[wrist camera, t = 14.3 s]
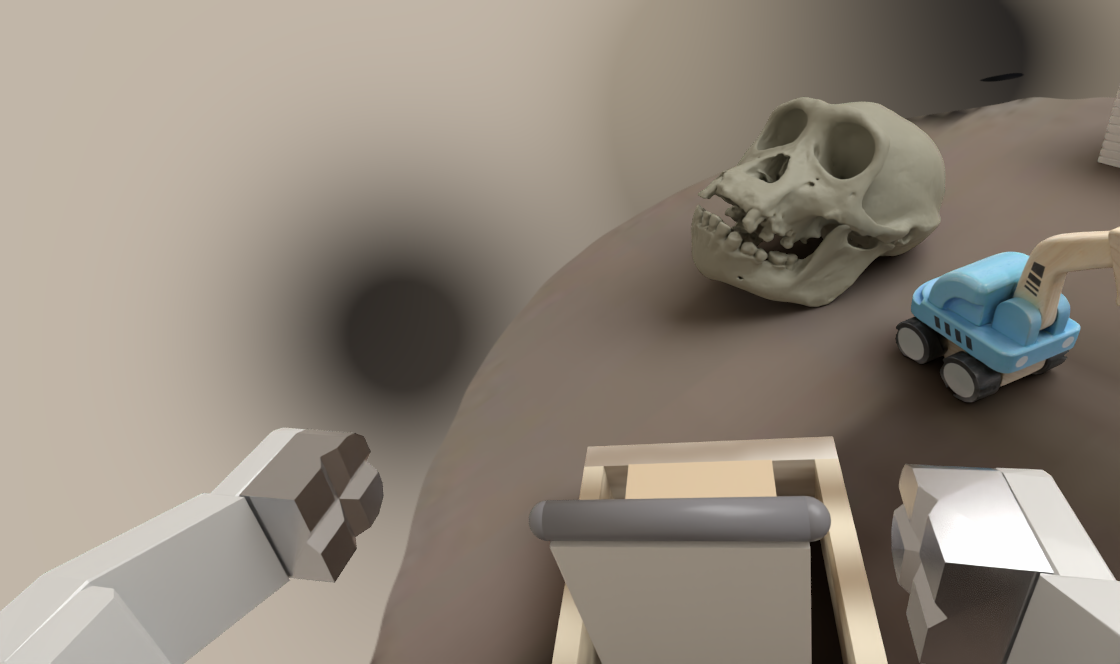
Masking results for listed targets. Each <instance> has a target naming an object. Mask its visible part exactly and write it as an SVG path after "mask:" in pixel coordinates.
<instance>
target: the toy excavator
mask: <svg viewBox="0 0 1120 664" xmlns="http://www.w3.org/2000/svg"><path fill="white" fill-rule="evenodd" d="M1100 268H1113V270H1114V277H1115V281H1116V288H1117V299H1116V304H1117V306H1120V227H1118V228H1116V229H1113V230H1111V231H1096V232H1079V233H1067V234H1060V235H1056V236H1053V237H1050V238H1048V239H1046V240H1044V241H1042V242H1040V243H1039V244H1038V245H1037V246H1036V247H1035V248H1034V249H1033V251H1032V253H1031V254H1030V256H1028V255H1025V254H1022V253H1018V252H1003V253H999V254H996V255H993V256H990V257H987V258H985V259H982V260H980V261H977V262H974V263H972V264H969V265H967V266H964V267H961V268H959V269H956V270H953V271H951V272H948V273H946V274H944V275H942V276H940V277H938V278H935V279H932V280H930V281H928V282H926V283H924V284H922V285H921V286H920V287H919V288H918V289H917V290H916V291H915V293H914V295H913V299H912V305H911V312H912V313H913V314H914V316H915V317H913V318H910V319H908V320H906V321H903V322H901V323H899V324H898V325H897V326H896V329H898V332H897V334H896V338H895V339H896V343H897V345H898V347H899V349H900V350H901V352H902V353H903V355H904V356H908V357H909V358H911V359H913V360H915V361H916V362H918V363H919V364H924V363H927V362H929V361H932V360H934V359H936V358H938V357H941V356H945V357H946V358H944V359H943V361H944V364H943V366H942V368H941V369H940V375H941V377H942V379H943V381H944V383H945V384H946V388H948V386H949V387H950V388H951V389H952V390H953V391H954V392H955V393H956V395H955V394H953V395H954V396H955V397H956V398H958V399H960V400H963V401H964V402H974V401H977V400H979V399H981V398H984V397H987V396H989V395H991V394H995V393H996V392H997V391H998V389H999V387H1001V386H1003V385H1006V384H1008V383H1010V382H1013V381H1015V380H1017V379H1020V378H1022V377H1024V376H1027V375H1029V374H1031V373H1032V374H1042V373H1044V372H1046V371H1047V370H1050V369H1052V368H1054V367H1056V366H1058V365H1060V364H1062V363H1063V362H1064V361H1065V360H1066V358H1067V357H1064V354H1065V353H1067V352H1069V349H1071V348H1072V347H1073V346H1074V344H1075V342H1076V339H1077V337H1078V334H1079V331H1080V325H1079V324H1078V323H1076V322H1075V321H1073V320H1072V319H1070V318H1069V315H1070V305H1069V303H1068V301H1067V299H1066V298H1065V297H1064V296H1063V295H1062V294H1061V291H1062V288H1063V284H1064V280H1065V277H1066V275H1067V273H1068V272H1073V271H1081V270H1088V269H1100Z"/></svg>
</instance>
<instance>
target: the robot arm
mask: <svg viewBox="0 0 1120 664" xmlns="http://www.w3.org/2000/svg"><path fill="white" fill-rule="evenodd" d="M369 454H370V449H369V447H368V445H367V442H366V440H365V438H364V436H362V435H359V434H356V433H349V432H337V431H325V430H312V429H306V430H304V429H294V428H280V429H277V430H274V431H272V432H271V433H270V434H269V435H268V436H267V437H266V438H265V439H264V440H263V441H262V442H261V443H260V444H259V445H258V446H257V447H256V448H255V449H254V450H253V451H252V452H251V453H250V454H249V455H248V456H247V457H246V458H245V459H244V460H243V461H242V462H241V463H240V464H239V465H238V466H237V467H236V468H235V469H234V470H233V471H232V472H231V473H230V474H229V475H228V476H227V477H226V478H225V479H224V480H223V481H222V482H221V483H220V484H219V485H218V486H217V487H216V489H214V490H213V491H212V492H211V493H210V494H208V493H202V494H200V495H198V496H196V497H194V498H192V499H190V500H188V501H186V502H184V503H182V504H180V505H178V506H176V507H174V508H172V509H170V510H168V511H167V512H164V513H162V514H161V515H158V516H156V517H154V518H153V519H151V520H149V521H147V522H145V523H143V524H141V525H139V526H137V527H135V528H133V529H131V530H129V531H127V532H125V533H123V534H121V535H119V536H117V537H115V538H113V539H111V540H109V541H107V542H105V543H103V544H101V545H99V546H97V547H95V548H93V549H91V550H89V551H87V552H85V553H83V554H82V555H80V556H78V557H76V558H74V559H72V560H70V561H68V562H66V563H64V564H62V565H60V566H58V567H56V568H54V569H52V570H50V571H48V572H46V573H44V574H42V575H41V576H40V577H39V578H38V579H36V580H35V581H34V582H33V583H32V584H31V585H30V586H28V587H27V588H26V589H25V590H24V591H23V592H22V593H21V594H19V595H18V596H17V597H16V598H15V599H14V600H13V601H12V602H10V603H9V604H8V605H7V606H6V607H5V608H4V609H3V610H1V611H0V664H184V663H185V662H186V661H188V660H189V659H190V658H191V657H193V656H194V655H195V654H197V653H198V652H199V651H200V650H202V649H203V648H204V647H206V646H207V645H208V644H209V643H211V642H212V641H213V640H215V639H216V638H217V637H218V636H220V635H221V634H222V633H223V632H225V631H226V630H227V629H229V628H230V627H231V626H232V625H233V624H235V623H236V622H237V621H239V620H240V619H241V618H243V617H244V616H245V615H246V614H248V613H249V612H250V611H251V610H253V609H254V608H255V607H257V606H258V605H259V604H260V603H262V602H263V601H264V600H265V599H267V598H268V597H269V596H271V595H272V594H273V593H274V592H276V591H277V590H278V589H279V588H281V587H282V586H283V585H285V584H286V583H287V582H288V581H289V578H297V579H306V580H315V581H325V582H335V581H336V580H337V578H338V577H339V575H340V574H341V572H342V571H343V569H344V567H345V566H346V564H347V562H348V561H349V560H350V558H351V557H352V555H353V553H354V552H355V551H356V549H357V547H356V538H355V537H356V536H358V535H359V534H361V533H362V532H364V531H365V530H367V529H368V528H370V527H371V526H372V524H373V522H374V521H375V519H376V517H377V516H378V514H379V511H380V508H381V504H382V500H383V485H382V481H381V478H380V475H379V472H378V471H377V470H376V469H375V468H374V467H373V466H372V465H371V464H369V463H368V462H367V459H368V456H369ZM899 489H900V493H901V496H902V499H903V503H904V504H903V505H901V506H900V507H899V508H897V509H896V510H895V511H894V516H893V523H892V555H893V561H894V567H895V571H896V575H897V579H898V583H899V584H900V585H901V586H902V587H903V588H904V589H905V590H906V591H907V592H908V593H910V598H909V603H908V608H907V613H906V614H907V618H908V622H909V625H910V629H911V633H912V637H913V640H914V644H915V648H916V651H917V655H918V659H919V663H923V664H1120V581H1116V579H1115V578H1114V576H1113V574H1112V573H1111V571H1110V570H1109V568H1108V566H1107V565H1106V563H1105V562H1104V560H1103V558H1102V557H1101V555H1100V554H1099V552H1098V550H1097V549H1096V547H1095V546H1094V544H1093V542H1092V541H1091V539H1090V538H1089V536H1088V534H1087V533H1086V531H1085V529H1084V528H1083V526H1082V525H1081V523H1080V521H1079V520H1078V518H1077V517H1076V515H1075V513H1074V512H1073V510H1072V509H1071V507H1070V505H1069V504H1068V502H1067V501H1066V499H1065V497H1064V496H1063V494H1062V493H1061V491H1060V489H1059V488H1058V486H1057V484H1056V483H1055V481H1054V480H1053V478H1052V476H1051V475H1049V474H1048V473H1046V472H1045V471H1044V470H1035V469H1011V468H995V469H991V468H975V467H955V466H935V465H915V464H905V466H904V468H903V470H902V472H901V477H900V482H899Z"/></svg>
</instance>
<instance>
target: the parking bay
mask: <svg viewBox="0 0 1120 664" xmlns="http://www.w3.org/2000/svg"><path fill="white" fill-rule="evenodd" d="M747 460H772V465H773V473H774V480H775V488H776V495H777V496H810V497H813V498H816V499H818V500H819V501H821V502H822V503H823V504H824V505H825V506H826V508H827V509H828V511H829V513H830V516H831V526H830V529H829V531H828V533H827V534H826V535H825V536H824V537H823V538H821V539H820V542H821V547H822V553H823V558H824V563H825V569H826V574H827V579H828V584H829V590H830V595H831V600H832V606H833V611H834V616H835V622H836V627H837V632H838V638H839V643H840V648H841V654H842V659H843V664H888V663H887V659H886V655H885V650H884V646H883V642H882V638H881V634H880V630H879V626H878V621H877V617H876V613H875V609H874V605H873V601H872V597H871V592H870V588H869V584H868V580H867V576H866V572H865V568H864V564H863V559H862V555H861V551H860V547H859V543H858V539H857V535H856V530H855V526H854V522H853V518H852V514H851V510H850V506H849V501H848V497H847V493H846V489H845V485H844V481H843V477H842V472H841V468H840V464H839V460H838V456H837V452H836V448H835V443H834V439H833V437H809V438H785V439H761V440H738V441H714V442H690V443H666V444H643V445H619V446H595V447H588V449H587V455H586V461H585V467H584V473H583V479H582V485H581V491H580V497H579V500H595V499H625V497H626V486H627V476H628V465H629V464H656V463H686V462H716V461H747ZM552 664H602V663H601V661H600V658H599V656H598V654H597V652H596V650H595V647H594V645H593V643H592V641H591V638H590V636H589V634H588V632H587V629H586V627H585V625H584V623H583V620H582V618H581V616H580V614H579V612H578V609H577V607H576V605H575V603H574V600H573V598H572V596H571V594H570V591H569V589H568V587H567V585H566V583H565V587H564V593H563V599H562V605H561V611H560V617H559V623H558V629H557V635H556V641H555V648H554V654H553V660H552Z"/></svg>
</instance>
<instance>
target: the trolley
mask: <svg viewBox="0 0 1120 664" xmlns="http://www.w3.org/2000/svg"><path fill="white" fill-rule="evenodd" d="M529 526H530V529H531V531H532V533H533V534H534V535H535V536H536V537H537V538H539V539H541V540H545V541H551V542H550V549H551V551H552V554H553V556H554V558H555V560H556V562H557V565H558V567H559V569H560V571H561V574H562V576H563V578H564V580H565V583H566V585H567V587H568V589H569V591H570V594H571V596H572V598H573V600H574V603H575V605H576V607H577V609H578V612H579V614H580V616H581V618H582V620H583V623H584V625H585V627H586V629H587V632H588V634H589V636H590V638H591V641H592V643H593V645H594V647H595V650H596V652H597V654H598V656H599V658H600V661H601V663H602V664H812V650H811V552H810V543H809V542H811V541H817V540H820V539H821V538H823V537H824V536H825V535H826V534H827V533H828V531H829V529H830V526H831V516H830V513H829V511H828V509H827V508H826V506H825V505H824V504H823V503H822V502H821V501H819V500H818V499H816V498H813V497H810V496H777V495H776V488H775V480H774V473H773V465H772V460H747V461H716V462H686V463H656V464H629V465H628V476H627V486H626V497H625V499H595V500H547V501H542V502H540V503H538V504H536V505H535V506H534V507H533V509H532V510H531V512H530V515H529Z"/></svg>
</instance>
